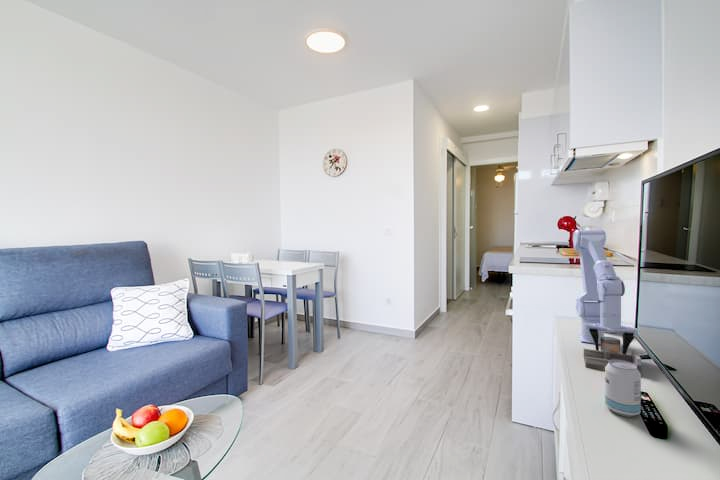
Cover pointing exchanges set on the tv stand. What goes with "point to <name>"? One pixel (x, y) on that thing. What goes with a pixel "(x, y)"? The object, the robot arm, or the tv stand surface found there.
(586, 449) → the tv stand surface
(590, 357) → the tray
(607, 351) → the pusher plate
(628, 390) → the beverage can
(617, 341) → the jar
